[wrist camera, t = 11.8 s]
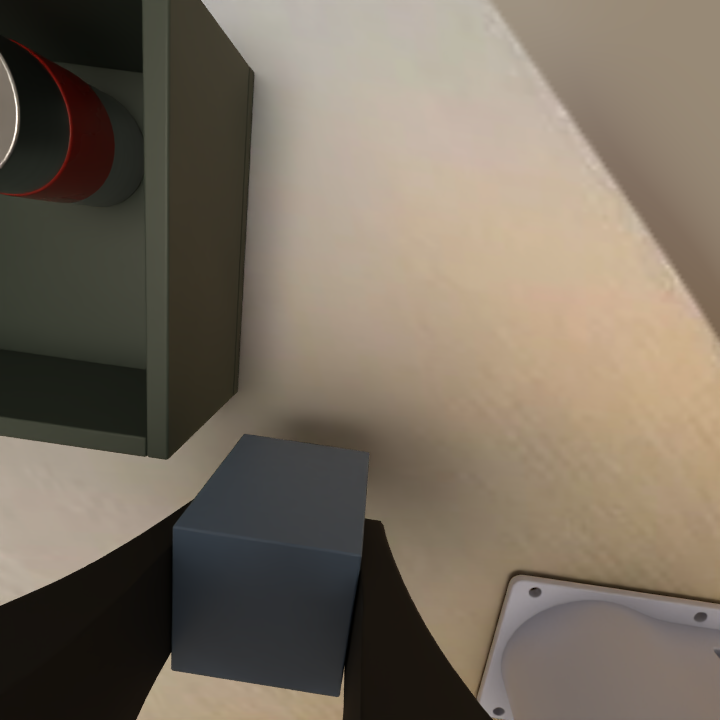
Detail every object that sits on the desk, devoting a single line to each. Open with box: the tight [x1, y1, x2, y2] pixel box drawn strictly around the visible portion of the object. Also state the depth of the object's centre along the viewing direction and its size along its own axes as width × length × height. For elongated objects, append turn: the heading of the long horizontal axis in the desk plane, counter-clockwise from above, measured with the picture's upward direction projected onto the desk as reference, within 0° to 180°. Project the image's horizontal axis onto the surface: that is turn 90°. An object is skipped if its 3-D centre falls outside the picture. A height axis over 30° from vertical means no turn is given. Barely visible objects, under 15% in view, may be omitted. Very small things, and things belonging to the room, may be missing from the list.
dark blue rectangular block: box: [171, 434, 369, 697], centre depth 11 cm, size 4×4×4 cm
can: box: [0, 34, 144, 207], centre depth 11 cm, size 4×4×5 cm
